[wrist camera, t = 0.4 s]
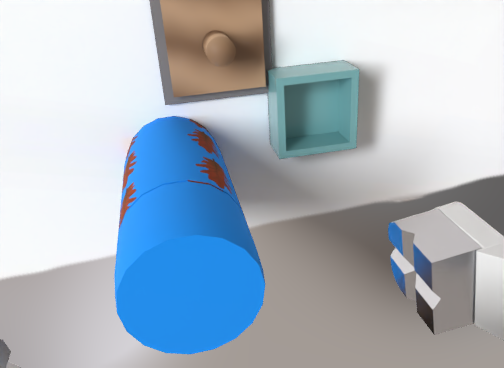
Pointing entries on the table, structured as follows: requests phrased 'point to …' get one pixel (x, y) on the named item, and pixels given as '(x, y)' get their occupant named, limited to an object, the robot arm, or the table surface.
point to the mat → (174, 100)
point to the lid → (214, 45)
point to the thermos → (183, 243)
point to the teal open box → (313, 108)
